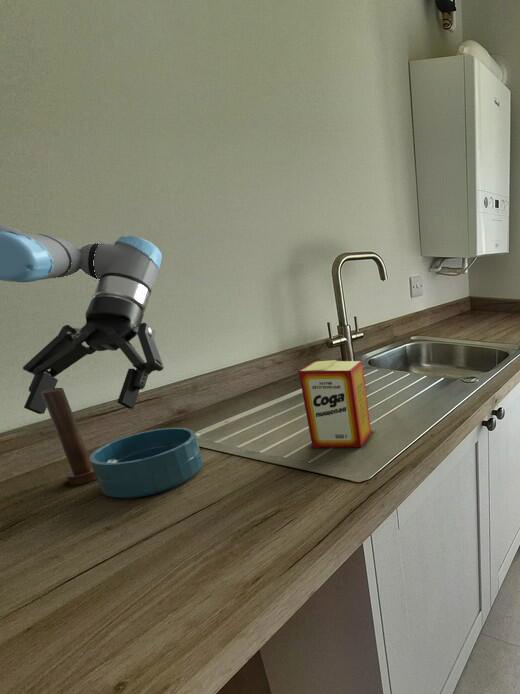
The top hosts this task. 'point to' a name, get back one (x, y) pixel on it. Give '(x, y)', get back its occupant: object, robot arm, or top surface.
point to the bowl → (146, 462)
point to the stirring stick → (69, 436)
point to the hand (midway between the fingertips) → (80, 408)
